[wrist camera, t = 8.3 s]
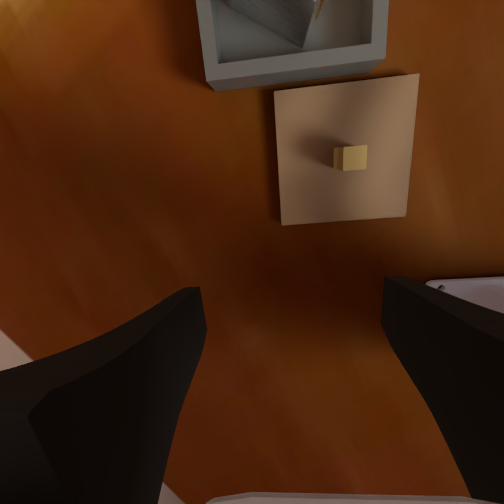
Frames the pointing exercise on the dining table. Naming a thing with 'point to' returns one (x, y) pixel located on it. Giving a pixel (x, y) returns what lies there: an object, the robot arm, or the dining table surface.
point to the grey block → (282, 16)
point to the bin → (291, 45)
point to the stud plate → (345, 149)
